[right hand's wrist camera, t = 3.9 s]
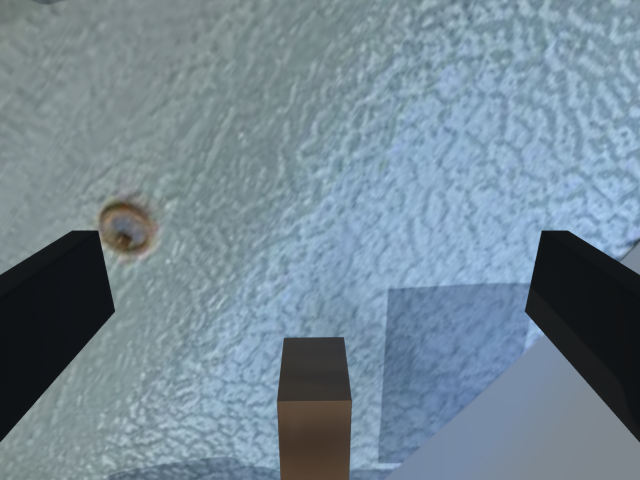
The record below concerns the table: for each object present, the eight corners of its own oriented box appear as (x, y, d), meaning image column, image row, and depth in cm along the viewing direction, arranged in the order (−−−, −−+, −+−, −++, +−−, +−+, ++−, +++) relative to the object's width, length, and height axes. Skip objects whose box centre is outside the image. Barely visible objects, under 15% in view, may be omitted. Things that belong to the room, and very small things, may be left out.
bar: (283, 337, 38) (276, 401, 30) (344, 336, 38) (351, 400, 30) (291, 530, 47) (287, 615, 40) (339, 529, 47) (344, 614, 40)
